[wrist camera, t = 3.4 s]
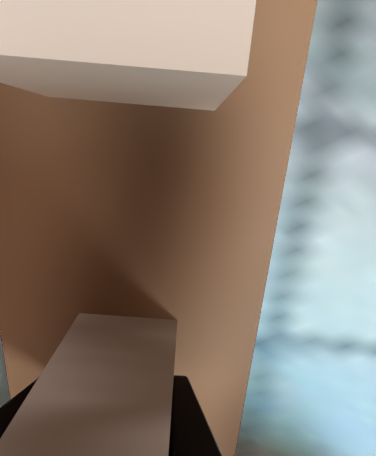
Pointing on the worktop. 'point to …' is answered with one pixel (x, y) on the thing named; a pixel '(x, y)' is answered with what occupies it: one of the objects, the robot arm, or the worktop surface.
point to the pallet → (141, 251)
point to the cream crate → (127, 49)
